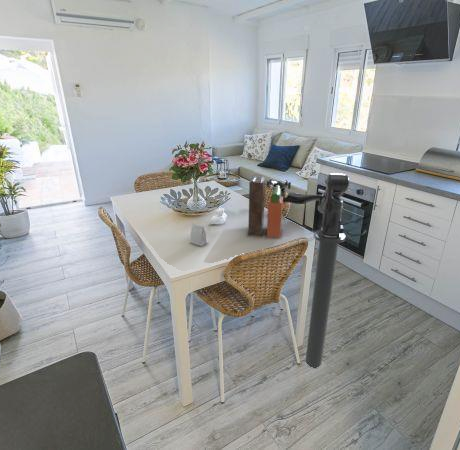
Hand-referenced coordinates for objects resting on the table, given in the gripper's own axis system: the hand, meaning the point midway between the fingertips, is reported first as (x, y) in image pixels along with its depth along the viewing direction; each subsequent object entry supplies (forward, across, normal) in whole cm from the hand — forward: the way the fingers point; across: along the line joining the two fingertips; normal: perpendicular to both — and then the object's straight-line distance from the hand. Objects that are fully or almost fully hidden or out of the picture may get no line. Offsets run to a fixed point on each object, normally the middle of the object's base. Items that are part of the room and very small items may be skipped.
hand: (278, 181), depth 179 cm
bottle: (+8, 0, +11) cm, 14 cm away
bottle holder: (+2, 0, +30) cm, 30 cm away
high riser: (+2, -10, +30) cm, 32 cm away
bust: (-5, -33, +26) cm, 43 cm away
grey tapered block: (+19, -37, +40) cm, 58 cm away
